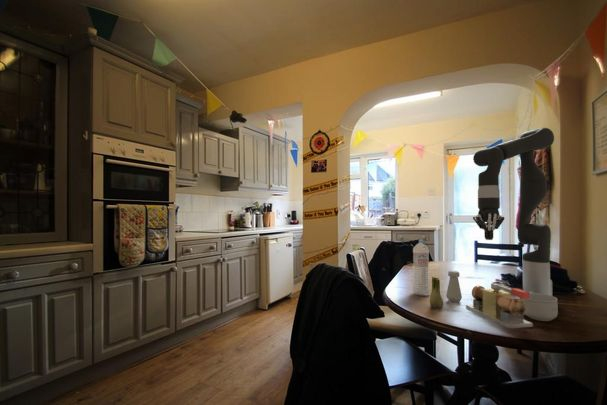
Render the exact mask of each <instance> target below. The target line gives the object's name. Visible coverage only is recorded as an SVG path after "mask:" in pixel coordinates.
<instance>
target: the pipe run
mask: <svg viewBox="0 0 607 405" xmlns="http://www.w3.org/2000/svg"><path fill="white" fill-rule="evenodd" d="M471 296H472V298H473V300H472V304H465V308H466V309H467V310H469V311H471V312H473V311H474V313H475V314H478V315H480V316H482V317H485V318H487V319H488V320H490V321H493V322H495V323H497V324H499V325H501V326H504V327H506V328H507V329H519V328H520V329H522V328H534V323H533V322H531V321H528V320H526V319H524V312H525V303H524V302H523V301H522V300H520V298H518V297H517V298H516V297H515V298H511V296H512V295H511V292H508V291H505V290H495V289H491V288H485V287H484V286H481V285H476V286H474V287H473V288H472V289H471Z"/></svg>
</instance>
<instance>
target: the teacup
mask: <svg viewBox="0 0 607 405" xmlns="http://www.w3.org/2000/svg"><path fill="white" fill-rule="evenodd" d="M519 299H520V300H522V301H523V302H524V303H525V312H524V313H523V315H525V316H526V317H528V318H529V319H531V320H534V321H539V322H550V321H552V320H554V319H556V318H557V317H558V314H559V310H558V308H559V307H558V306H559V305H558V301H559V300H558V298H557V297H556V296H553V295H552V296H550V295H546V294H540V293H533V292H529V298H528V299H523V298H520V297H519Z"/></svg>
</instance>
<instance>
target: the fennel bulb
mask: <svg viewBox="0 0 607 405" xmlns="http://www.w3.org/2000/svg"><path fill="white" fill-rule="evenodd" d="M440 285H441V283H440V278H439V277H436V276H432V277H431V291H430V296H429V297H430V298H429V306H430V307H431V308H432V309H437V310H440V309H442V308H443V306H444V300H443V298H442V295H441V290H440V289H441V288H440V287H441V286H440Z"/></svg>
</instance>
